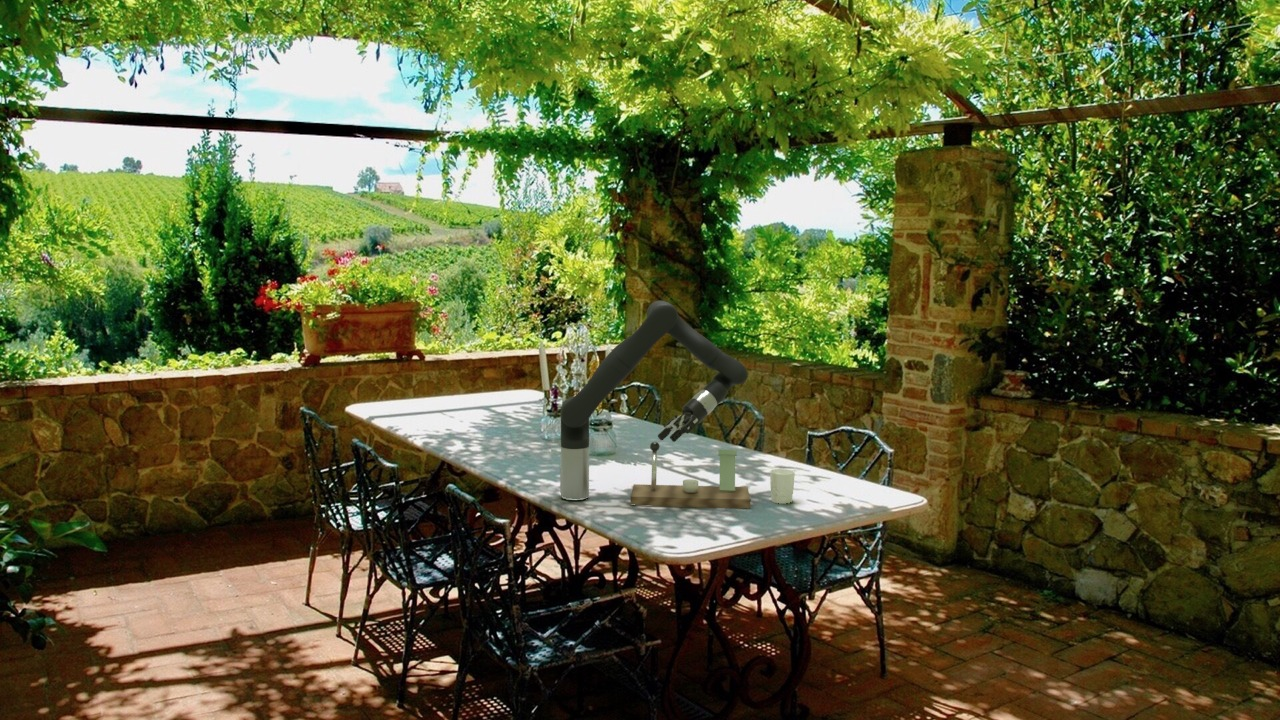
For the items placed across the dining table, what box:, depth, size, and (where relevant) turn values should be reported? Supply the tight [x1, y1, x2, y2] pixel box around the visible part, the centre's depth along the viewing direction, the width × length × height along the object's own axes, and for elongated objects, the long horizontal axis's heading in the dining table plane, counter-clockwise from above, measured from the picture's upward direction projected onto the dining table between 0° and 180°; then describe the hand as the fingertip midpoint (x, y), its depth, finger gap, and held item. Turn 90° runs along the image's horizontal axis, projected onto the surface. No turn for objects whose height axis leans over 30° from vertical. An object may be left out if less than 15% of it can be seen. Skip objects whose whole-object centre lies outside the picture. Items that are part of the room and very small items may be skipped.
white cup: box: [769, 468, 796, 505], centre depth 314 cm, size 8×8×10 cm
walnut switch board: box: [630, 483, 751, 510], centre depth 314 cm, size 38×16×3 cm, turn 87°
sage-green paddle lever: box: [717, 449, 738, 491], centre depth 316 cm, size 6×2×13 cm, turn 87°
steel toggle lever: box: [649, 441, 661, 489], centre depth 317 cm, size 3×3×16 cm
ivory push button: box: [682, 479, 699, 493], centre depth 314 cm, size 5×5×3 cm
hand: (665, 439), depth 307 cm, fingers open, 8 cm apart
